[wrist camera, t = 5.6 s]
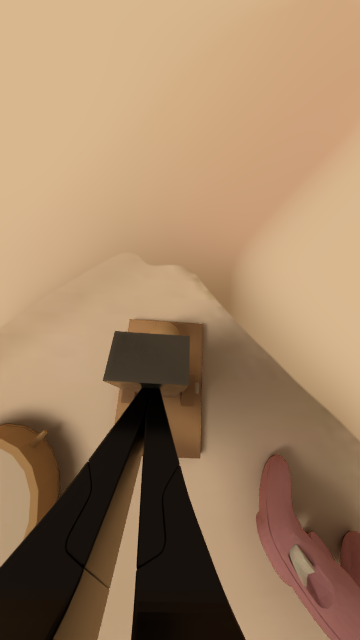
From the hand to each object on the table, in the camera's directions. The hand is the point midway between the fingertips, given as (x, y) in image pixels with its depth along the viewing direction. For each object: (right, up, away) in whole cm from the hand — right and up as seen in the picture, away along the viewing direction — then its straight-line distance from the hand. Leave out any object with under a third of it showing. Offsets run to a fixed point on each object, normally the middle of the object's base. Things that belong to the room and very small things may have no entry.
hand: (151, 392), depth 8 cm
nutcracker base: (-1, -3, +9) cm, 10 cm away
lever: (0, -3, +7) cm, 8 cm away
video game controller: (+12, -14, +7) cm, 20 cm away
